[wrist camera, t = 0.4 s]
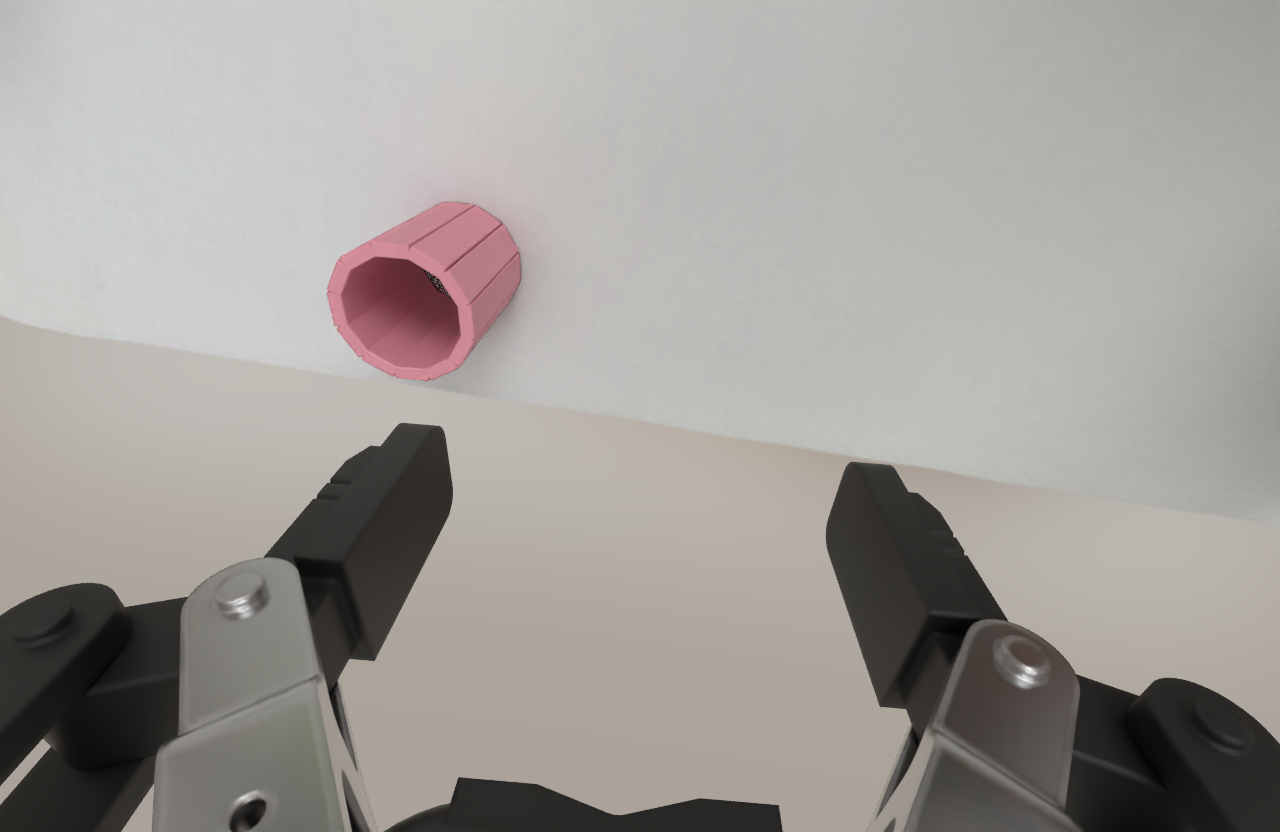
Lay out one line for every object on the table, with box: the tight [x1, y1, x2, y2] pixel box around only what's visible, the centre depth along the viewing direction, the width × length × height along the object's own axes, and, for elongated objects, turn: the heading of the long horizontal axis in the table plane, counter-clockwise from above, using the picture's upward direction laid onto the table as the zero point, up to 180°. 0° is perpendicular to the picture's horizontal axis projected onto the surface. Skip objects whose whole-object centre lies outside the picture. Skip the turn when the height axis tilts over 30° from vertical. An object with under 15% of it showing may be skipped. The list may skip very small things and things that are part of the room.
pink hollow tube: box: [327, 202, 521, 381], centre depth 26 cm, size 6×6×8 cm
